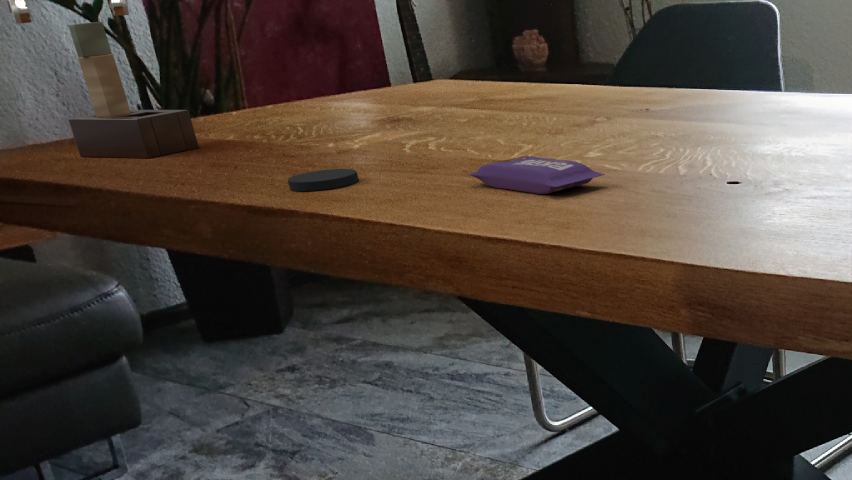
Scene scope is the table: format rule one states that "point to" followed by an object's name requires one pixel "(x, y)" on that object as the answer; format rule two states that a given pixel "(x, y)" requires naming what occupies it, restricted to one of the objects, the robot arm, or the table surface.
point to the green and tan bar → (99, 69)
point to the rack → (134, 134)
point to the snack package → (535, 174)
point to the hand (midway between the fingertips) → (73, 15)
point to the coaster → (323, 180)
